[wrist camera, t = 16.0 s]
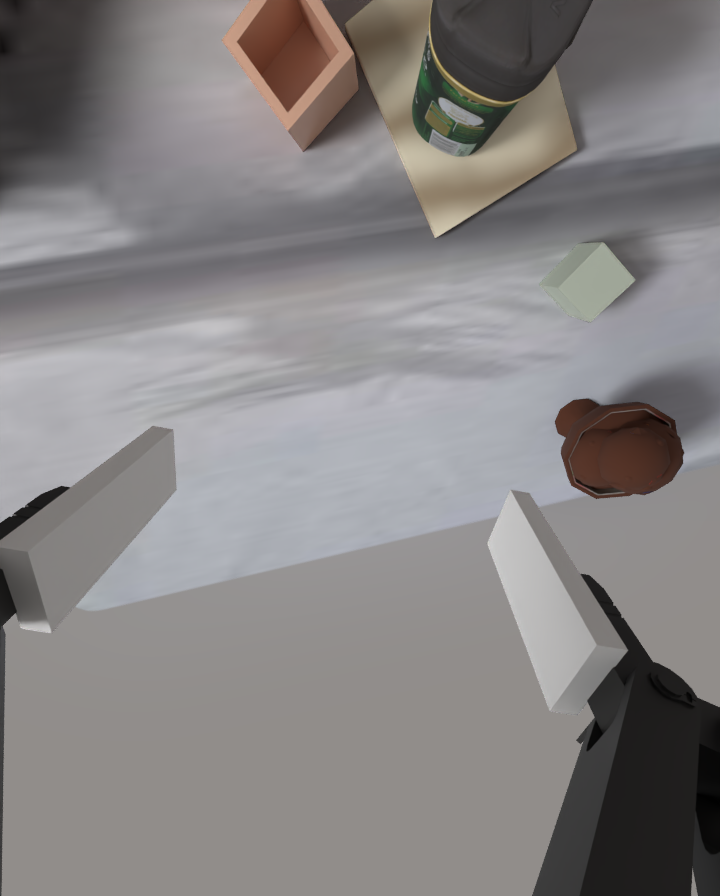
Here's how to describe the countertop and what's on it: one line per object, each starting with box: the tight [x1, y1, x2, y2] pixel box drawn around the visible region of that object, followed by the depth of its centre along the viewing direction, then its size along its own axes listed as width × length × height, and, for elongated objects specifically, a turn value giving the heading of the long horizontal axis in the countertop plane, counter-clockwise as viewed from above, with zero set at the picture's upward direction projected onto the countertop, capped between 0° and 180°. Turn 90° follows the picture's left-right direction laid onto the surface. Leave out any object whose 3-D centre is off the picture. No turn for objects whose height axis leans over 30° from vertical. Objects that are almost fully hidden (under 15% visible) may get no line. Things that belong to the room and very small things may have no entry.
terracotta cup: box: [222, 0, 359, 152], centre depth 31 cm, size 7×7×7 cm
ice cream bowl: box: [555, 399, 684, 499], centre depth 41 cm, size 11×11×15 cm
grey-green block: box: [539, 242, 635, 322], centre depth 38 cm, size 5×5×5 cm
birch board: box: [345, 0, 578, 238], centre depth 34 cm, size 18×14×1 cm
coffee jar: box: [412, 0, 593, 157], centre depth 25 cm, size 10×8×19 cm
